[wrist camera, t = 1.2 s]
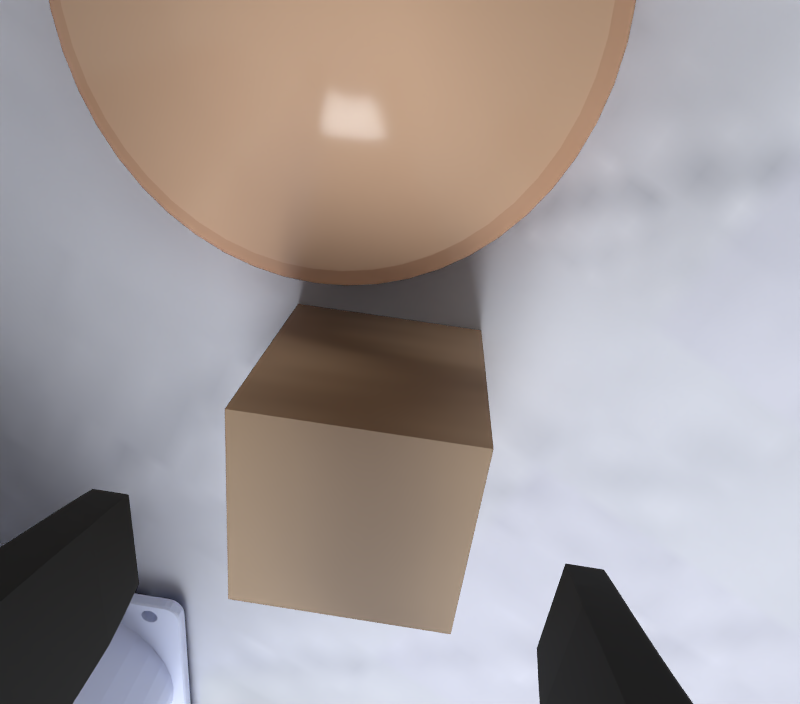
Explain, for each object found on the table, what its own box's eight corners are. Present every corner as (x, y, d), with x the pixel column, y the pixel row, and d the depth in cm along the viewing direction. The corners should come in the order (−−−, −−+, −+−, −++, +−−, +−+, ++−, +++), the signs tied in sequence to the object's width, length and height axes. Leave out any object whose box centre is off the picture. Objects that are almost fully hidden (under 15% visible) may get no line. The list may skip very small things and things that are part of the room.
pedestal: (122, 229, 13) (71, 253, 12) (63, -388, 9) (-34, -504, 7) (544, 290, 13) (558, 323, 11) (692, -319, 9) (753, -419, 7)
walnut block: (291, 452, 16) (228, 598, 12) (298, 303, 14) (225, 409, 10) (451, 476, 16) (450, 634, 11) (481, 329, 14) (493, 449, 9)
